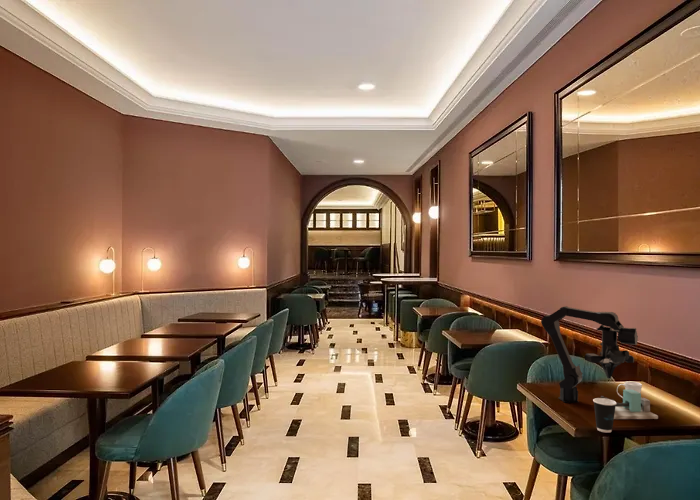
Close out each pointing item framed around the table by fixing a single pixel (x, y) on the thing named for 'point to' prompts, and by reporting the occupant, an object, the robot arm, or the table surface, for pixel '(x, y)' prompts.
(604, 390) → the table surface
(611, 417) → the dixie cup
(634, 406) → the teal block
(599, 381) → the table surface
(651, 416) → the cord board
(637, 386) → the cup
